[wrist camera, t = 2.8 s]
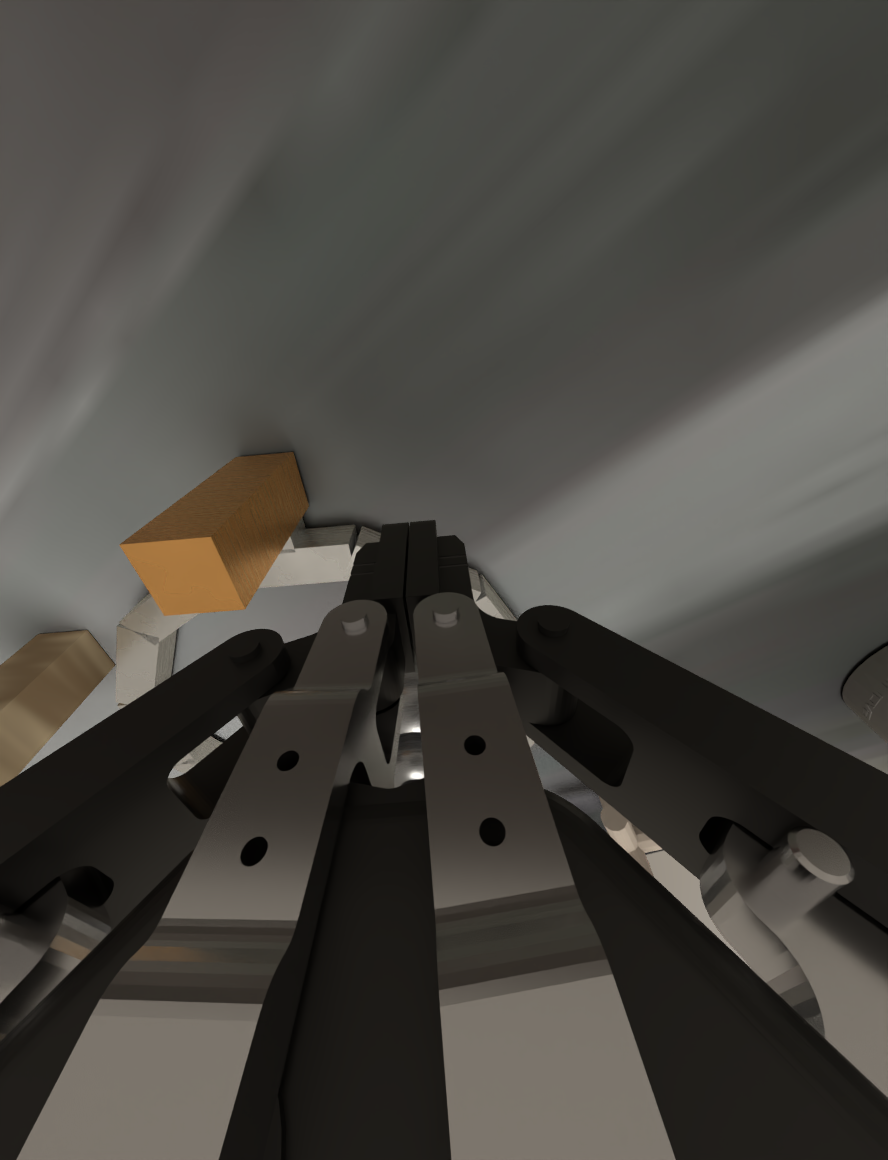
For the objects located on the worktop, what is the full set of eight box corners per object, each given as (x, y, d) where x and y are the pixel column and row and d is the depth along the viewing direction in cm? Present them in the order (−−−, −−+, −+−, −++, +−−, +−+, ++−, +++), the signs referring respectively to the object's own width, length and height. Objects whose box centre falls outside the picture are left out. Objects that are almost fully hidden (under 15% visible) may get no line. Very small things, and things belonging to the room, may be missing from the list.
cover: (473, 641, 25) (489, 751, 19) (477, 718, 29) (490, 828, 23) (349, 650, 25) (323, 763, 19) (372, 726, 30) (357, 837, 23)
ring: (554, 428, 17) (632, 500, 11) (526, 782, 34) (550, 895, 28) (-18, 479, 18) (-283, 579, 11) (233, 804, 35) (187, 919, 28)
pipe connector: (565, 816, 39) (602, 953, 30) (532, 767, 33) (567, 916, 25) (668, 790, 36) (739, 930, 28) (652, 733, 31) (732, 885, 23)
